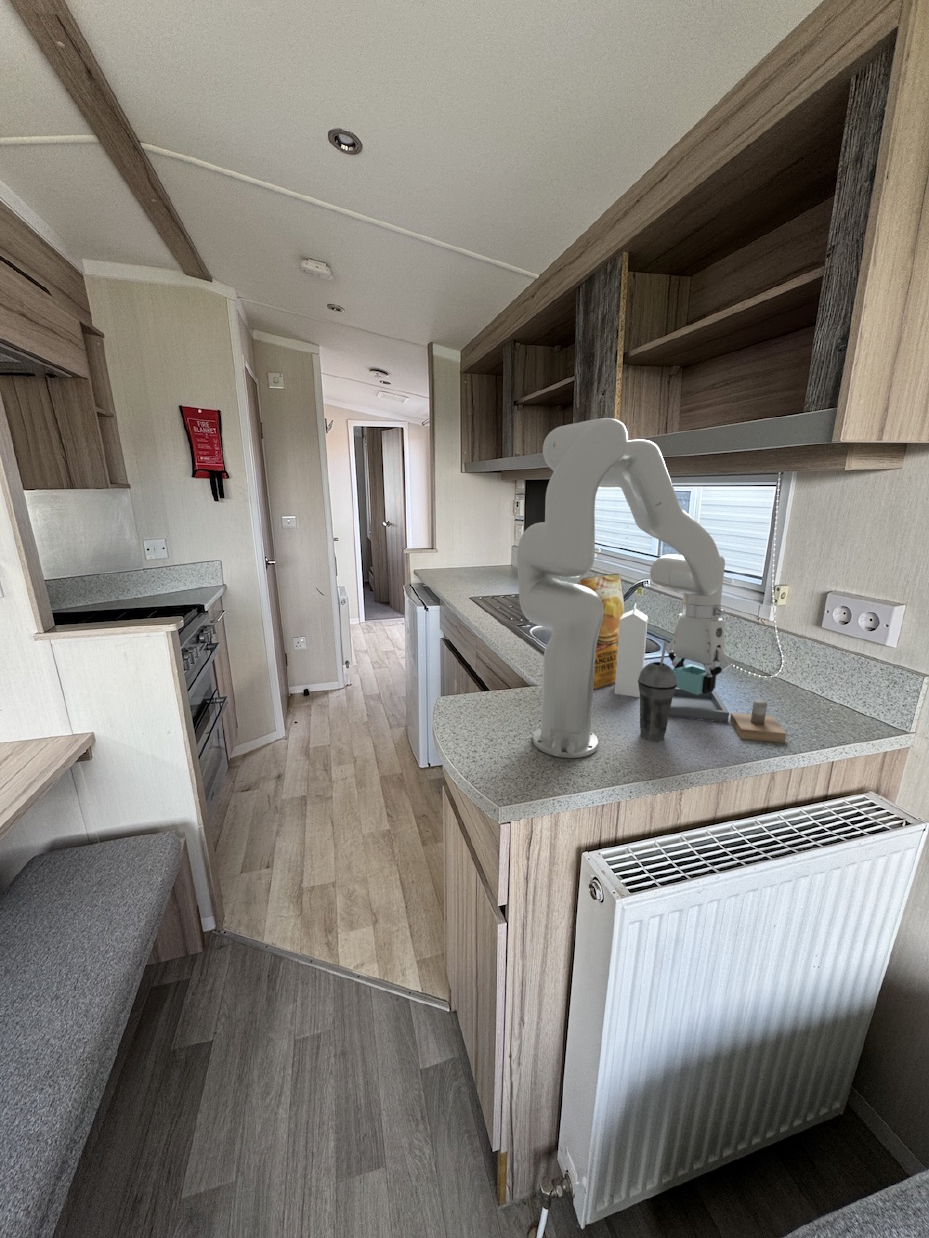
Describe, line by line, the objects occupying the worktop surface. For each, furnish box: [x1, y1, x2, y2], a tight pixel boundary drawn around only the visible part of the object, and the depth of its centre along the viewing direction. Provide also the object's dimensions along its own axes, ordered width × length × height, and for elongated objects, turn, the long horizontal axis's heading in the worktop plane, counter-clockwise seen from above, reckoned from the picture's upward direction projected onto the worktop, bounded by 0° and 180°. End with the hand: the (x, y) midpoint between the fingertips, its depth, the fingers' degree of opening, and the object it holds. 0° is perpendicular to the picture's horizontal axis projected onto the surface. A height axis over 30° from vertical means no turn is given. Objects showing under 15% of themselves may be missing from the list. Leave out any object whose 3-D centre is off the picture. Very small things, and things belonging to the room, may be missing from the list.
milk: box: [614, 603, 649, 698], centre depth 123 cm, size 6×6×22 cm
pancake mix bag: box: [577, 573, 626, 690], centre depth 129 cm, size 7×19×28 cm, turn 124°
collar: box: [672, 663, 718, 695], centre depth 115 cm, size 7×9×4 cm
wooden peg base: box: [729, 699, 787, 744], centre depth 103 cm, size 8×8×6 cm
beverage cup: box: [638, 640, 677, 742], centre depth 100 cm, size 7×7×20 cm
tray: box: [669, 688, 730, 723], centre depth 116 cm, size 13×13×2 cm
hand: (692, 686), depth 115 cm, fingers closed on collar, 6 cm apart
